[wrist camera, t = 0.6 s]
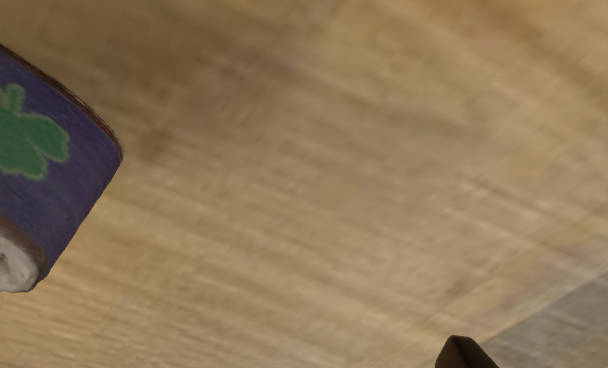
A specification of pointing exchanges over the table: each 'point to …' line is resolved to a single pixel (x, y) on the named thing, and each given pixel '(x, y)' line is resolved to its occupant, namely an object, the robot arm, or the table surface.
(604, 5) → the table surface
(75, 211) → the flask
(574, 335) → the table surface
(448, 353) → the robot arm
